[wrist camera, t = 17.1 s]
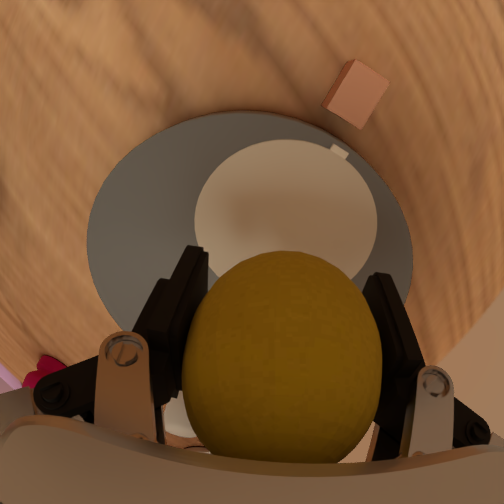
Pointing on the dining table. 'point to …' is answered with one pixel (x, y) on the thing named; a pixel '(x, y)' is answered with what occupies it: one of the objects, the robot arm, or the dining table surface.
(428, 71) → the dining table surface
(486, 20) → the dining table surface
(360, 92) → the pink rectangular block
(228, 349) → the lemon
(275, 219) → the turntable
